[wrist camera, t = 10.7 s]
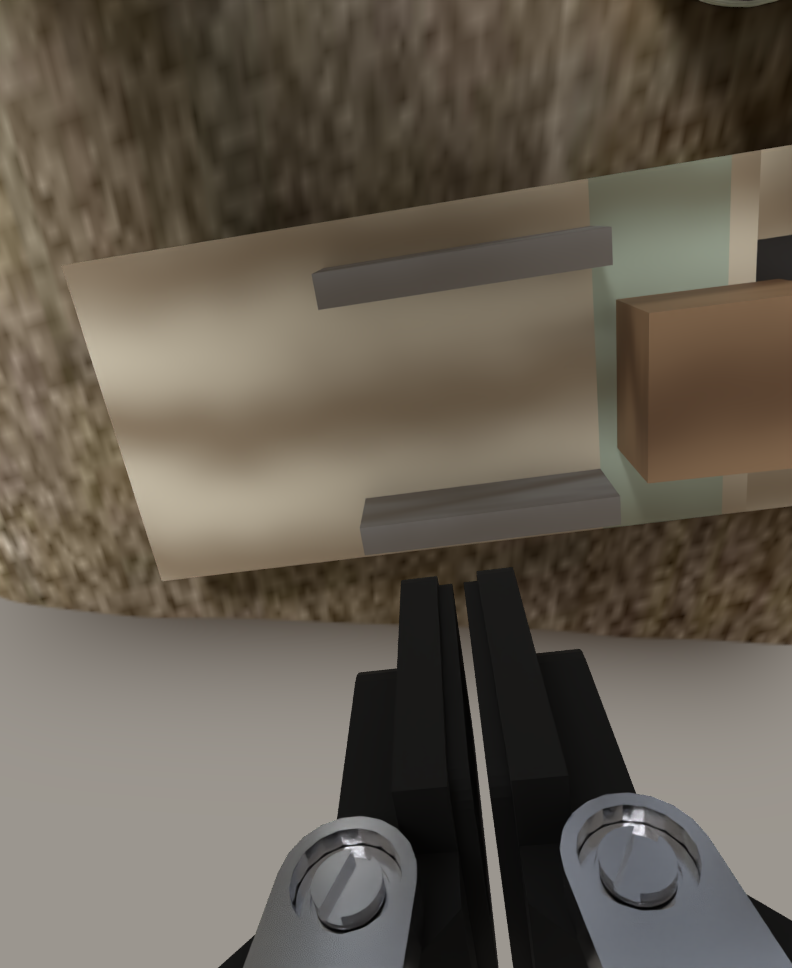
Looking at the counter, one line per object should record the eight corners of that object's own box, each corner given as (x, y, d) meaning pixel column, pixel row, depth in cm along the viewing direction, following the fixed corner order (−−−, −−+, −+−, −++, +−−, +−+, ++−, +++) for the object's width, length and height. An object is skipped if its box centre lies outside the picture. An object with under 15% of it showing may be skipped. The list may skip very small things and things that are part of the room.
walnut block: (615, 299, 25) (649, 313, 22) (779, 278, 25) (842, 289, 21) (617, 447, 28) (647, 483, 24) (767, 431, 27) (822, 465, 23)
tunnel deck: (96, 260, 28) (17, 270, 23) (996, 112, 25) (1159, 82, 20) (183, 551, 34) (136, 617, 28) (943, 457, 30) (1060, 511, 25)
